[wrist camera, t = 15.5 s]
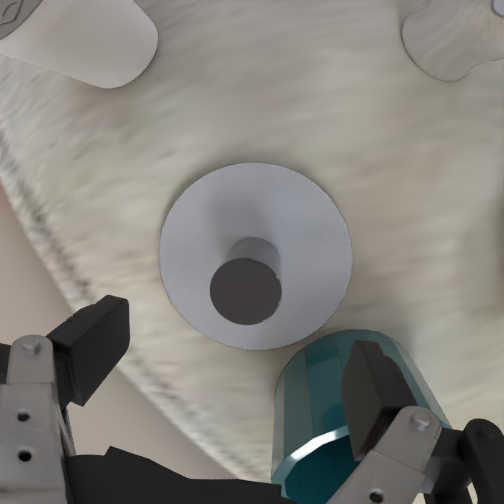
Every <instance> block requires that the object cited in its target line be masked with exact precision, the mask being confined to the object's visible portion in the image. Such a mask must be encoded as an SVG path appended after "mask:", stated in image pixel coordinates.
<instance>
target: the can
mask: <svg viewBox="0 0 504 504" xmlns="http://www.w3.org/2000/svg"><path fill="white" fill-rule="evenodd" d="M157 44H158V33H157V29H156V27H155V25H154V23H153V22H152V20H151V19H150V18H149V17H148V16H147V15H146V14H145V13H144V12H143V11H142V10H141V9H140V8H139V6H138V5H137V4H136V3H135V2H134V1H133V0H0V54H2V55H4V56H7V57H10V58H13V59H16V60H20V61H23V62H26V63H29V64H32V65H35V66H38V67H42V68H45V69H48V70H51V71H54V72H57V73H59V74H62V75H65V76H68V77H71V78H74V79H77V80H80V81H82V82H85V83H88V84H91V85H94V86H97V87H100V88H107V89H109V88H116V87H120V86H123V85H125V84H127V83H129V82H131V81H132V80H134V79H135V78H136V77H138V76H139V75H140V74H141V73H142V72H143V71H144V70H145V69H146V67H147V66H148V65H149V63H150V62H151V60H152V58H153V56H154V54H155V52H156V49H157Z"/></svg>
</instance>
